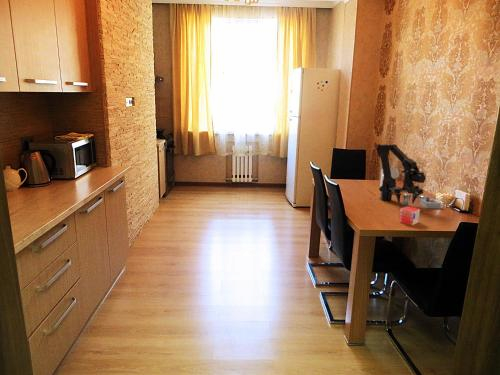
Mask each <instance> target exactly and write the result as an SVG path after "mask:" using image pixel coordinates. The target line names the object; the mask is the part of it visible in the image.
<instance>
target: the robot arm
mask: <svg viewBox="0 0 500 375" xmlns="http://www.w3.org/2000/svg"><path fill="white" fill-rule="evenodd" d="M375 149H376V153H377V155H378V156H379V157H380V161H381V163H380V164H381V167H382V169H383V174H384V179H383V185H382V186H381V187H380V186H379V189H378V190H379V192H380V197H379V199H380V200H381V201H386V202H387V201H390V202H391V201H392V197H393V196H392V195H393V194H395V196H396V200H397V203H398V204H400V202H401V195H402V193H407V194H411V195H412V199H411V201H412V202H411V204H414V203H415V201H416V199H418V198H417V196H419V195H421V194H422V195H423V194H424V189H423V188H421V187H420V186H419V185H415V183H419V184H424V183H425V181H426V178H427V177H426V174H425V172H421V171H420V170H419V167H418V165H417V164H418V163H417V162H416V161H415V160H413V159H412V158H410V157H408V156H407V155H406V154H405V153H404V152H403V151H402V150H401V149H400V148H399V147H398V145H397V144H389V145H388V144H386V143H385V144H378V145H376V148H375ZM390 152H391V153H392V154H393V155H394V156H395V157H396V158H397V159H398V160H399V161H400V162H401V166H402V167H403V170H402V171H401V173H403V174H404V175H403V180H402V183H403V185H402V187H397V182H396V181H397V180H396V178H395V179H393V178H392V176H391V171H390V168H391V167H390V160H389V155H390ZM382 169H381V170H382Z"/></svg>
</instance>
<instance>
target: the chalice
mask: <svg viewBox="0 0 500 375" xmlns="http://www.w3.org/2000/svg"><path fill="white" fill-rule="evenodd" d="M390 171H391V175H392V178H393V179H395V180H396V179H397V178H398V177H399V176H400V171H399V169H398V168H395V167H390ZM381 174H383V169H381V170H380V175H381Z"/></svg>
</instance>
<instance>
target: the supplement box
mask: <svg viewBox="0 0 500 375" xmlns="http://www.w3.org/2000/svg"><path fill="white" fill-rule="evenodd" d="M391 176H392V175H391ZM383 179H384V174H381V173H380V182H379V183H380V184H379V188H380V187H381V186H382V185H383Z"/></svg>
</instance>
